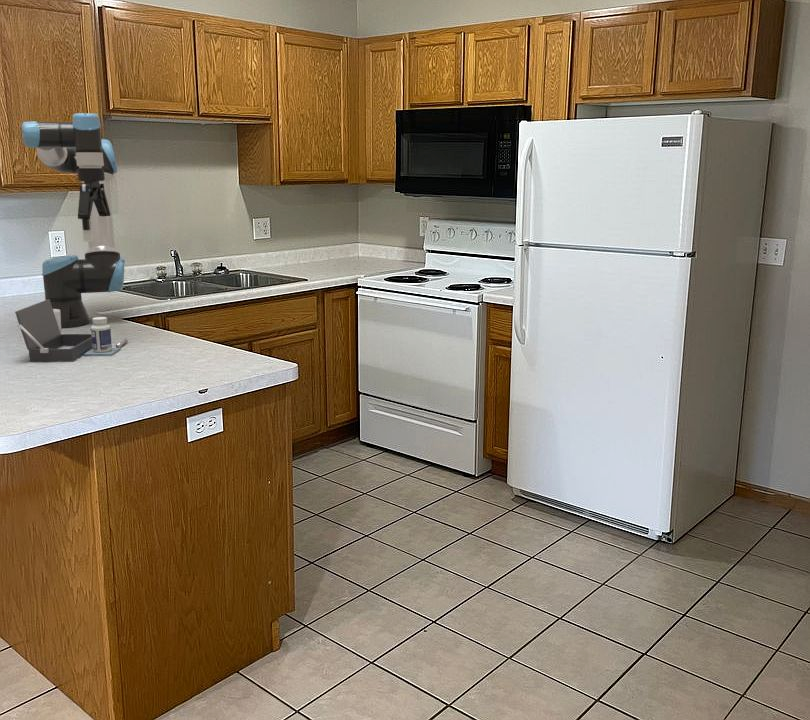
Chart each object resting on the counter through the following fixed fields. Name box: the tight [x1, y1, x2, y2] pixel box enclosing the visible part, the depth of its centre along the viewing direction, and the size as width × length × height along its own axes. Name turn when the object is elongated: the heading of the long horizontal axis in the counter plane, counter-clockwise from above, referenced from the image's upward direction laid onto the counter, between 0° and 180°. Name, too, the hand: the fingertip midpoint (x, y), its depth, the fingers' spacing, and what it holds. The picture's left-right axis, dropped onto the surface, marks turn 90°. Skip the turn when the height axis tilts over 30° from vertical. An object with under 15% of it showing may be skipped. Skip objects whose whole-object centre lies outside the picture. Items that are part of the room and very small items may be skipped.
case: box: [14, 299, 93, 363], centre depth 237 cm, size 22×15×14 cm, turn 1°
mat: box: [83, 347, 122, 357], centre depth 239 cm, size 8×8×1 cm
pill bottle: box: [90, 316, 113, 352], centre depth 238 cm, size 5×5×10 cm
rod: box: [115, 338, 129, 348], centre depth 249 cm, size 8×1×1 cm, turn 1°
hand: (96, 239), depth 248 cm, fingers open, 13 cm apart
